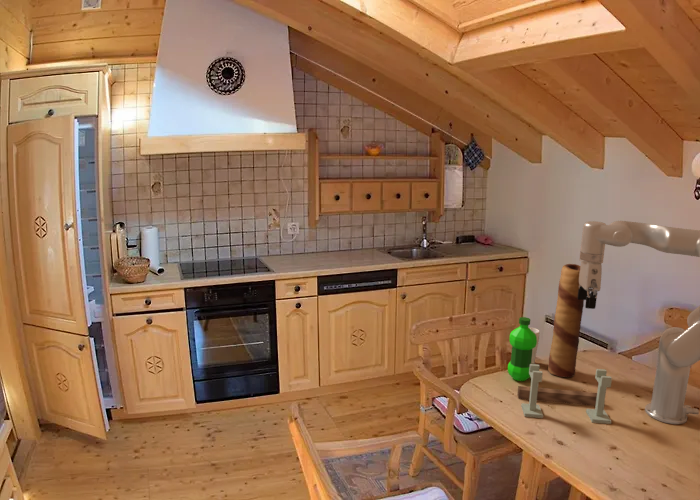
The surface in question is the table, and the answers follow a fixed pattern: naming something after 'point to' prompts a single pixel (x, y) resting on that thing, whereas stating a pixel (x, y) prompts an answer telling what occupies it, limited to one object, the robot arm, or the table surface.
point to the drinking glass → (536, 345)
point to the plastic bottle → (521, 350)
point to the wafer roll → (566, 324)
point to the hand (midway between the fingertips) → (586, 303)
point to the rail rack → (594, 414)
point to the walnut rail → (559, 396)
